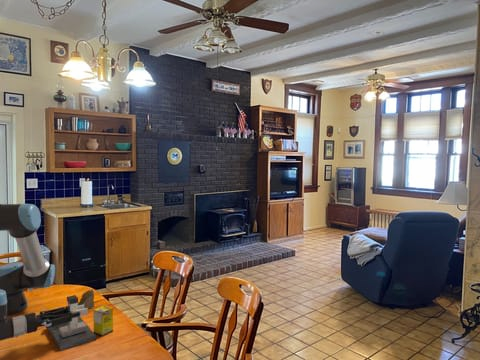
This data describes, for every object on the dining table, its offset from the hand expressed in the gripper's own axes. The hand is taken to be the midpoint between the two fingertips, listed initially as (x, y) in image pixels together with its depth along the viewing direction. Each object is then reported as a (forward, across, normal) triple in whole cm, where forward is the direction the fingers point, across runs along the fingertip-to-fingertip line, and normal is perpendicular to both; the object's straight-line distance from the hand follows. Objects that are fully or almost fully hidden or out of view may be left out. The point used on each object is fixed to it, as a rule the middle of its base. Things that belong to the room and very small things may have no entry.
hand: (85, 309), depth 160 cm
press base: (-5, -4, -11) cm, 13 cm away
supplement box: (+6, +4, -11) cm, 14 cm away
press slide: (-5, 0, -9) cm, 10 cm away
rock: (+8, -28, -11) cm, 31 cm away
